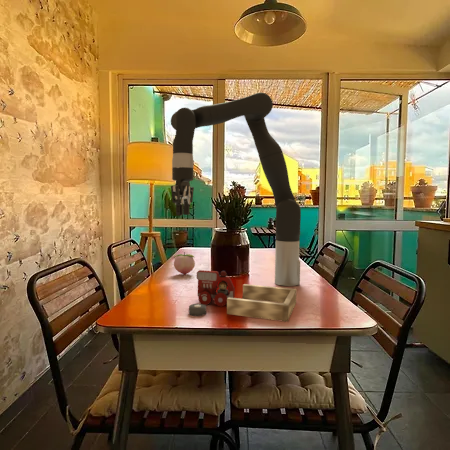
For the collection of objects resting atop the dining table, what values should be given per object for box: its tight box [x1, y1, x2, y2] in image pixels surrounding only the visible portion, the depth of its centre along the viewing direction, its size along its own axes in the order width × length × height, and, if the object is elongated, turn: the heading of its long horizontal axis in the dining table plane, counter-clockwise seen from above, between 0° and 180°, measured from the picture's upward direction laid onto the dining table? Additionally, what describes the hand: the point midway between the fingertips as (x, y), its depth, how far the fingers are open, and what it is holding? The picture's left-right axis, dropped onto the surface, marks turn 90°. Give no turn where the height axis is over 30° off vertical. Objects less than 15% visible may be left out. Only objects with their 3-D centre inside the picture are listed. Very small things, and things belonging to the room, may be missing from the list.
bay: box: [226, 283, 297, 322], centre depth 102 cm, size 18×18×4 cm
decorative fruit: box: [173, 252, 196, 275], centre depth 147 cm, size 9×8×10 cm
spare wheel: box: [188, 303, 207, 317], centre depth 97 cm, size 5×5×2 cm
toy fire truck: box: [196, 269, 236, 307], centre depth 107 cm, size 7×12×10 cm, turn 78°
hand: (182, 214), depth 120 cm, fingers open, 5 cm apart
